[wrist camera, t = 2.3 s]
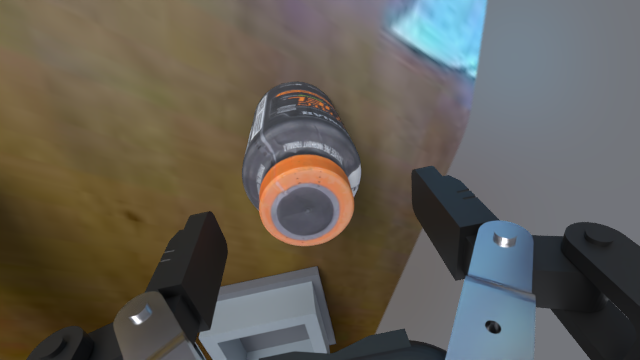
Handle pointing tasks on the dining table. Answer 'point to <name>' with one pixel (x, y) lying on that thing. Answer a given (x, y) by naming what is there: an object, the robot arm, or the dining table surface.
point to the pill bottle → (300, 166)
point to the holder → (270, 318)
